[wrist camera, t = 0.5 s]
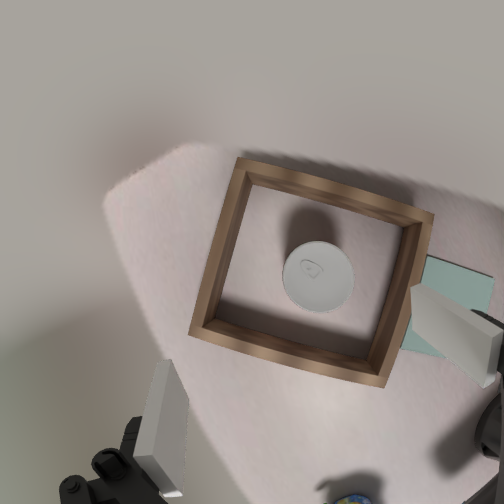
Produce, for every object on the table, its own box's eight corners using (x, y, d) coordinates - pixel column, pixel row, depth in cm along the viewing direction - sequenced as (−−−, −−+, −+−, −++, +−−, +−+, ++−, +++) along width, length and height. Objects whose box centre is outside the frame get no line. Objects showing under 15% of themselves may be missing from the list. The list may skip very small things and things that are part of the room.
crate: (415, 220, 42) (434, 214, 36) (371, 371, 43) (384, 388, 36) (245, 172, 46) (237, 156, 39) (202, 324, 46) (187, 334, 39)
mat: (493, 278, 40) (494, 279, 40) (468, 362, 40) (470, 363, 40) (425, 255, 42) (427, 255, 42) (399, 347, 42) (400, 348, 42)
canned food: (297, 236, 45) (299, 228, 34) (348, 260, 44) (367, 259, 33) (274, 287, 45) (269, 295, 34) (326, 310, 44) (337, 325, 33)
